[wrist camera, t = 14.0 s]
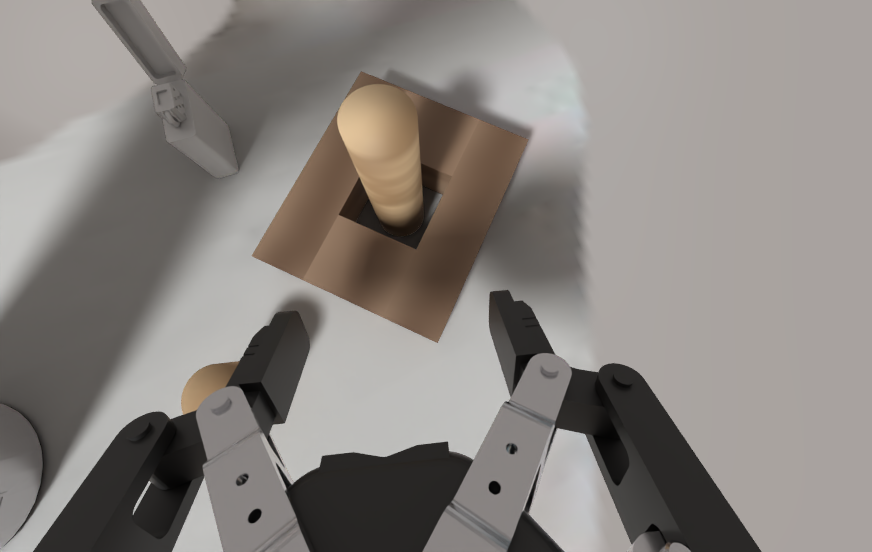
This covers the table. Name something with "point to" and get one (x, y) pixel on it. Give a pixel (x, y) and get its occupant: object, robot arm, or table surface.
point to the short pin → (205, 384)
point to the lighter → (172, 89)
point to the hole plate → (385, 257)
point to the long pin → (386, 153)
